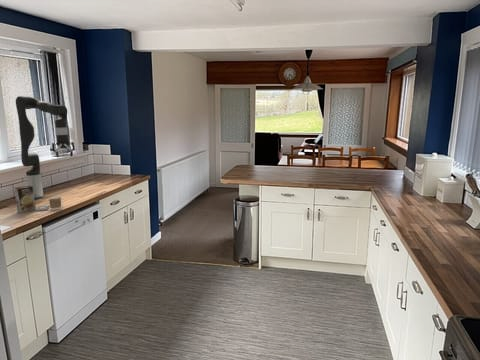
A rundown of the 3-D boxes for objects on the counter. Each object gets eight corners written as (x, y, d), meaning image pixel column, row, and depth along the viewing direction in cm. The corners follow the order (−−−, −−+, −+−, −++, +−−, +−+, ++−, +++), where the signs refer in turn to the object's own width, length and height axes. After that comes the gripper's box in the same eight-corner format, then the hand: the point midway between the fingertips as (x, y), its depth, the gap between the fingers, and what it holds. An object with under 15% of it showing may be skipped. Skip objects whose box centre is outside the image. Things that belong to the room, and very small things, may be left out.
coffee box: (21, 213, 230) (17, 189, 226) (17, 211, 234) (13, 187, 230) (36, 209, 237) (32, 186, 233) (32, 208, 241) (28, 185, 237)
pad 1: (38, 207, 242) (38, 206, 242) (49, 206, 244) (49, 205, 244) (35, 211, 233) (35, 210, 232) (47, 210, 235) (47, 209, 235)
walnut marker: (51, 205, 243) (50, 197, 241) (61, 204, 244) (60, 196, 243) (50, 208, 237) (49, 199, 236) (60, 207, 239) (59, 198, 238)
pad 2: (51, 206, 244) (51, 205, 244) (62, 205, 247) (62, 204, 246) (49, 210, 235) (48, 208, 235) (60, 209, 237) (60, 207, 237)
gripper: (73, 133, 255) (76, 155, 258) (51, 134, 250) (54, 156, 253) (72, 133, 248) (75, 156, 251) (49, 134, 243) (52, 158, 246)
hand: (64, 156), depth 252 cm, fingers open, 8 cm apart
